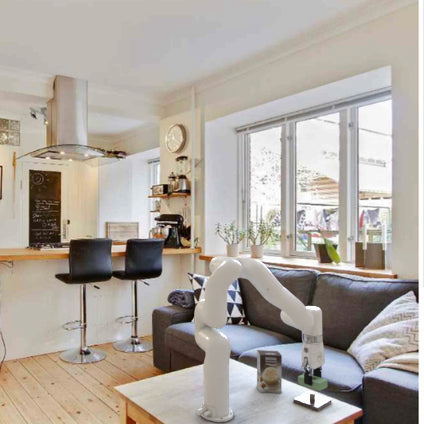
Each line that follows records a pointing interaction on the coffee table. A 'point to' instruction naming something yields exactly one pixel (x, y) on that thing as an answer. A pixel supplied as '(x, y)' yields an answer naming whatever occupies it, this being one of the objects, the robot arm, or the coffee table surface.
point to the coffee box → (269, 371)
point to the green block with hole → (314, 382)
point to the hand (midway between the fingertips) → (312, 381)
